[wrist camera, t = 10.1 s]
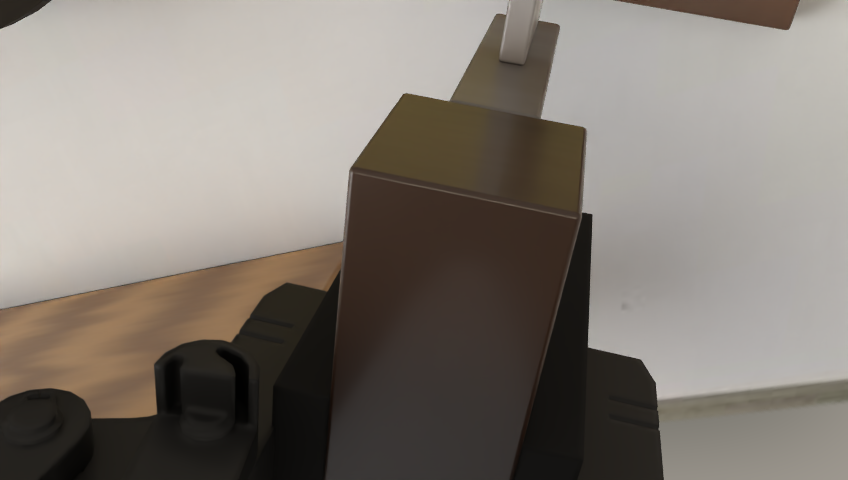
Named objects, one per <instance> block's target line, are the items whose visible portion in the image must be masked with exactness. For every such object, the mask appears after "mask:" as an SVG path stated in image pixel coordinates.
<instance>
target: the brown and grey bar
mask: <svg viewBox="0 0 848 480" xmlns="http://www.w3.org/2000/svg"><path fill="white" fill-rule="evenodd" d="M542 2H543V0H509V3H508V8H507V14H506V15H503V14H496V16H495V17H494V19H493V21H492V23H491V25H490V27H489V28H488V30H487V32H486V34H485V36H484V38H483V40H482V42H481V43H480V45H479V47H478V49H477V51H476V53H475V55H474V56H473V58H472V60H471V62H470V64H469V66H468V68H467V69H466V71H465V73H464V75H463V77H462V79H461V81H460V82H459V84H458V86H457V88H456V90H455V92H454V94H453V95H452V97H451V99H450V101H444V100H438V99H433V98H428V97H423V96H418V95H412V94H407V93H406V94H403V95H402V97H401V98H400V99H399V101H398V102H397V104H396V105H395V106H394V108H393V109H392V111H391V112H390V113H389V115H388V116H387V118H386V119H385V120H384V122H383V123H382V125H381V126H380V127H379V129H378V130H377V132H376V133H375V134H374V136H373V137H372V139H371V140H370V141H369V143H368V144H367V146H366V147H365V148H364V150H363V151H362V153H361V154H360V156H359V157H358V158H357V160H356V161H355V163H354V164H353V165H352V167H351V168H350V170H349V180H348V192H347V203H346V215H345V227H344V239H343V251H342V263H341V274H340V286H339V298H338V310H337V322H336V334H335V345H334V357H333V369H332V381H331V393H330V406H329V418H328V430H327V442H326V453H325V465H324V477H323V480H513V479H514V475H515V471H516V468H517V464H518V460H519V456H520V452H521V448H522V445H523V442H524V438H525V434H526V430H527V426H528V423H529V419H530V415H531V411H532V407H533V403H534V399H535V396H536V392H537V388H538V384H539V380H540V376H541V373H542V369H543V365H544V361H545V357H546V353H547V350H548V346H549V342H550V338H551V334H552V330H553V326H554V323H555V319H556V315H557V311H558V307H559V303H560V300H561V296H562V292H563V288H564V284H565V280H566V277H567V273H568V269H569V265H570V261H571V257H572V253H573V250H574V246H575V242H576V238H577V234H578V230H579V227H580V223H581V219H582V204H583V188H584V172H585V155H586V139H587V131H586V129H585V128H583V127H579V126H574V125H568V124H563V123H558V122H553V121H548V120H542V119H541V115H542V110H543V105H544V101H545V96H546V91H547V86H548V82H549V77H550V72H551V68H552V63H553V58H554V54H555V49H556V44H557V39H558V35H559V30H560V26H559V25H558V24H554V23H548V22H543V21H539V17H540V12H541V7H542Z"/></svg>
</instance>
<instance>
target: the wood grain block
mask: <svg viewBox="0 0 848 480" xmlns="http://www.w3.org/2000/svg"><path fill="white" fill-rule="evenodd" d="M342 251H343V242H340V243H335V244H330V245H325V246H320V247H315V248H310V249H305V250H300V251H295V252H290V253H285V254H280V255H275V256H270V257H265V258H260V259H255V260H250V261H245V262H239V263H234V264H229V265H224V266H219V267H214V268H209V269H204V270H199V271H194V272H189V273H184V274H179V275H174V276H169V277H164V278H159V279H154V280H149V281H144V282H139V283H134V284H129V285H124V286H119V287H114V288H108V289H103V290H98V291H93V292H88V293H83V294H78V295H73V296H68V297H63V298H58V299H53V300H48V301H43V302H38V303H33V304H28V305H23V306H18V307H13V308H8V309H3V310H0V401H2V400H4V399H5V398H7V397H9V396H12V395H15V394H18V393H21V392H25V391H28V390H33V389H46V388H54V389H60V390H65V391H70V392H72V393H74V394H76V395H77V396H79V397H81V398H82V399H84V400H85V402H86V404H87V406H88V408H89V409H90V411H91V418H137V417H148V416H152V415H156V414H157V405H156V389H155V374H154V364H155V362H156V361H157V360H158V359H159V358H160V357H161V356H162V355H163V354H164V353H165V352H167V351H169V350H171V349H173V348H175V347H177V346H179V345H180V344H183V343H187V342H192V341H197V340H202V339H206V340H224V341H228V342H231V341H232V340H233V339H234V337H235V336H236V334H239V331H240V329H241V327H242V326H243V324H244V323H245V322H246V320H247V319H248V318H250V314H251V313H252V312H253V310H254V309H255V307H256V306H257V304H258V303H259V302H260V300H261V299H262V297H263V296H264V295H266V294H268V293H269V292H271V291H273V290H274V289H276V288H278V287H279V286H281V285H283V284H284V283H286V282H288V283H293V284H297V285H302V286H306V287H310V288H315V289H319V290H324V291H328V290H329V288H330V286H331V285H332V283H333V281H334V279H335V278H336V276H337V274H338V272H339V271H340V269H341V263H342Z"/></svg>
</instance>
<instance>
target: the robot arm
mask: <svg viewBox="0 0 848 480" xmlns="http://www.w3.org/2000/svg"><path fill="white" fill-rule="evenodd" d="M592 216H593V215H592V214H587V213H582V219H581V223H580V227H579V230H578V234H577V238H576V242H575V246H574V250H573V253H572V257H571V261H570V265H569V269H568V273H567V277H566V280H565V284H564V288H563V292H562V296H561V300H560V303H559V307H558V311H557V315H556V319H555V323H554V326H553V330H552V334H551V338H550V342H549V346H548V350H547V353H546V357H545V361H544V365H543V369H542V373H541V376H540V380H539V384H538V388H537V392H536V396H535V399H534V403H533V407H532V411H531V415H530V419H529V423H528V426H527V430H526V434H525V438H524V442H523V445H522V448H521V452H520V456H519V460H518V464H517V468H516V471H515V475H514V479H513V480H664V477H663V465H662V453H661V441H660V431H659V430H658V428H659V417H658V411H657V407H658V406H657V394H656V383H655V381H654V380H653V378H652V376H651V375H650V373H649V372H648V370H647V368H646V367H645V365H644V364H643V362H642V361H641V360H640V359H636V358H632V357H627V356H623V355H618V354H614V353H609V352H605V351H600V350H596V349H591V348H588V326H589V298H590V271H591V243H592ZM340 274H341V269H340V271H339V272H338V274H337V276H336V278H335V279H334V281H333V283H332V285H331V286H330V288H329V290H328V291H324V290H319V289H315V288H310V287H306V286H302V285H297V284H293V283H288V282H286V283H284V284H283V285H281V286H279V287H278V288H276V289H274V290H273V291H271V292H269V293H268V294H266V295H264V296H263V297H262V299H261V300H260V302H259V303H258V304H257V306H256V307H255V309H254V310H253V312H252V313H251V314H250V318H248V319H247V320H246V322H245V323H244V324H243V326H242V327H241V329H240V331H239V334H236V336H235V337H234V339H233V340H232V341H231V342H228V341H224V340H206V339H202V340H197V341H192V342H187V343H183V344H180V345H179V346H177V347H175V348H173V349H171V350H169V351H167V352H165V353H164V354H163V355H162V356H161V357H160V358H159V359H158V360H157V361H156V362H155V364H154V374H155V389H156V405H157V414H156V415H152V416H148V417H137V418H91V411H90V409H89V408H88V406H87V404H86V402H85V400H84V399H82V398H81V397H79V396H77V395H76V394H74V393H72V392H70V391H65V390H60V389H54V388H46V389H33V390H28V391H25V392H21V393H18V394H15V395H12V396H9V397H7V398H5V399H4V400H2V401H0V480H323V477H324V465H325V453H326V442H327V430H328V418H329V406H330V393H331V381H332V369H333V357H334V345H335V334H336V322H337V310H338V298H339V286H340Z"/></svg>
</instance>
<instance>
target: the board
mask: <svg viewBox="0 0 848 480" xmlns="http://www.w3.org/2000/svg"><path fill="white" fill-rule="evenodd" d="M615 1H621V2H627V3H633V4H638V5H644V6H650V7H656V8H661V9H667V10H673V11H679V12H684V13H690V14H696V15H702V16H707V17H713V18H719V19H724V20H730V21H736V22H742V23H747V24H753V25H759V26H765V27H770V28H776V29H782V30H789V28H790V26H791V24H792V21H793V18H794V15H795V13H796V10H797V7H798V4H799V2H800V0H615Z"/></svg>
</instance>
